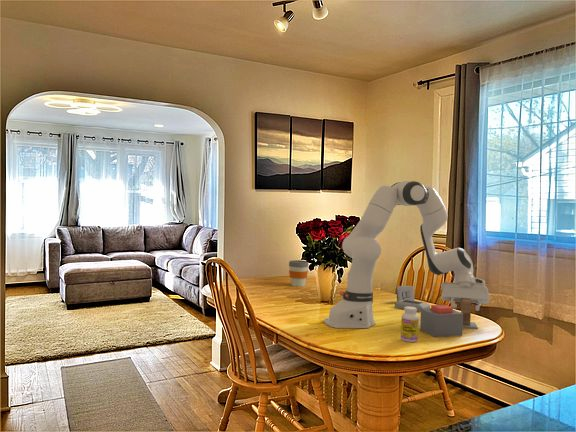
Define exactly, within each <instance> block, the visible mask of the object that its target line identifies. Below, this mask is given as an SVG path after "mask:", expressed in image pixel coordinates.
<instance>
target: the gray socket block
mask: <svg viewBox="0 0 576 432" xmlns="http://www.w3.org/2000/svg"><path fill="white" fill-rule="evenodd" d="M419 324H420V325H419V326H420V327H419V330H420V331H422V332H423V333H426V334H427V335H430V336H432V337H434V338H443V337H444V338H445V337H458V336H459V337H460V336H464V335H463V331H464V328H463V313H461V311H457V310H456V309H453V313H441V314H439V313H437V312H434V311H432V310H431V307H430V308H429V309H421V312H420V317H419Z"/></svg>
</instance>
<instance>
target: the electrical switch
mask: <svg viewBox="0 0 576 432" xmlns="http://www.w3.org/2000/svg"><path fill="white" fill-rule="evenodd" d="M395 293H396V302H398V301H401V300H404V299H406V300H412V301H416V300H415V292H414V287H413V286H412V285H398V286H396V288H395Z"/></svg>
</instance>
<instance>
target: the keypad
mask: <svg viewBox="0 0 576 432" xmlns="http://www.w3.org/2000/svg"><path fill="white" fill-rule="evenodd" d="M407 306H410V307H416V308H417V311H416V312H419V313H421V309H429V308H431V304H429V303H427V302H424V301H416V300H415V301H412V300H406V299H404V300H401V301H398V302H397V301H396V302H395V303H394V309H395V308H396V309H401V310H404V308H405V307H407Z"/></svg>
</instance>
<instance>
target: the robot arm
mask: <svg viewBox="0 0 576 432" xmlns="http://www.w3.org/2000/svg"><path fill="white" fill-rule="evenodd" d="M396 206H405V207H408V206H409V207H410V206H416V207H417V208H418V209H419V213H420V215H421V218H422V223H421V225H420V235H421V239H422V244H423V248H424V252H425V256H426V260H427V265H428V270H429V271H430V272H431V273H432V274H434V275H437V276H441V275H444V274H446V273H449V272H453V274H454V276H453V280H454V281H453V282H447V281H444V282H443V283H442V282H441V284H440V288H441V290H442V293H441V299H442V300H443V301H444V302H445V301H447V302H449V303H450V305H451V306H452V308H453V310H457V308H458V304H457V303H455V302H461V301H462V299H470V300H471V304H473V303H474V304H477V305H475V306H474V308H475V309H474V310H475V311H478V312H479V311H480V307H481V306H482V304H484V305H485V304H488V303H490V299H491V295H490V292H489V289H488V287H487V286H486V281H485V280H484V279H481V278H478V277H475V275H474V264H473V261H472V258H471V256H470V254H469V253H468V251H467V250H465V249H464V248H461V247H455V248H452V249H449V250H445V251H441V252H437V251H436V248H435V243H434V240H433V235H434V234H435V233H436V232H437V231H439V230H440V229H441V228H442V227H444V225H445V224H446V222H447V221H448V217H449V215H448V211H447V208H446V205H445V204H444V202H443V200H442V198H441V196H440V195H439V193H438V192H437V190H436V189H435V188H434V187H432V186H425V185H424V184H422V183H421V182H419V181H414V180H413V181H410V180H405V181H399V182H395V183H393V184H392V185H391V186H390V185H381V186H379V187H378V189H376V191H375V193H374V194H373V195H372V198H371V199H370V200H369V202H368V204H367V207H366V209H365V210H364V212H363V215H362V216H361V218H360V220H359V221H358V223H356V226H355V227H354V228H353V229H352V230H351V232H350V233H349V235H347V236H346V237H345V238H344V239H343V241H342V243H341V244H342V245H341V246H342V250H343V252H344V253H345V255H346V256H347V257H349V258H350V259H351V258H352V260H351V265H350V268H349V270H348V271H347V278H346V279H347V282H346V290H345V291H344V290H343V291H342V290H339V292H338V294H339V296H342V299H341V300H339V302H337V303H336V304H335V305H333V306H331V308H330V310H329V314H328V317H325V318H324V319H323V323H324V324H325V325H327V326H328V327H331V328H334V329H370V328H371V327H372V326H374V325H375V324H376V323H375V318H374V313H373V302H374V292H373V276H374V272H375V271H374V270H375V267H376V265H377V264H376V263H377V260H378V258H380V256H381V254H382V247H381V244H380V243H379V242H378V241H377V240H376V238H377V237H378V236H379V235H380V234H381V233H382V232H383V231H384V230H385V228H386V226H387V224H388V222H389V220H390V218H391V216H392V215H393V212H394V209H395V208H396Z"/></svg>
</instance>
